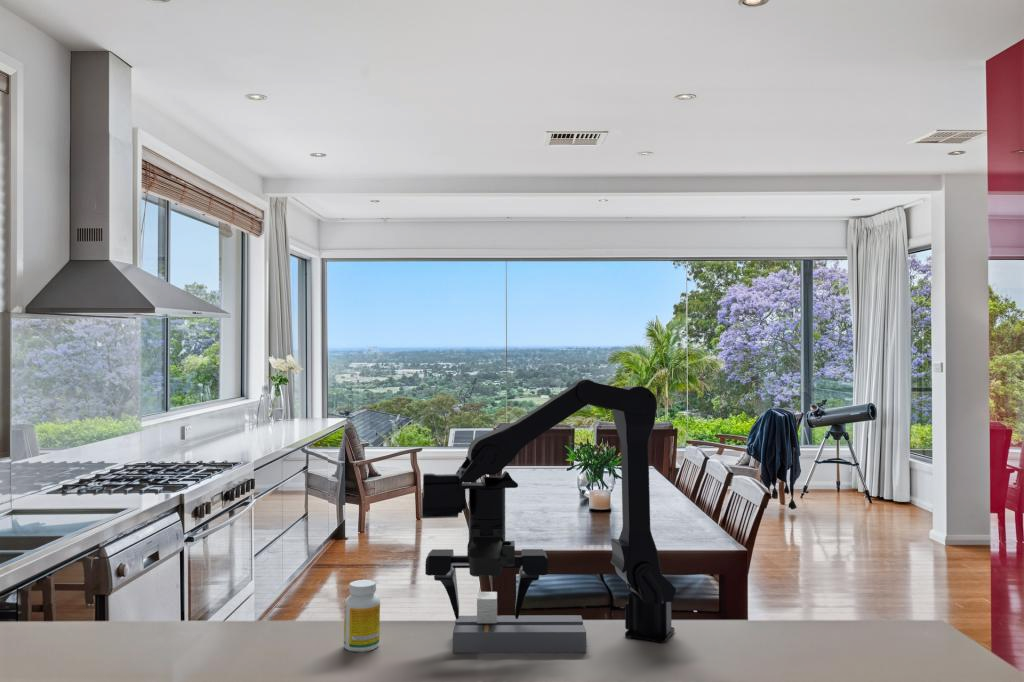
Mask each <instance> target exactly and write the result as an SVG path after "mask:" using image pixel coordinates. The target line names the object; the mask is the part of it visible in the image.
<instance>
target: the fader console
mask: <svg viewBox="0 0 1024 682" xmlns="http://www.w3.org/2000/svg"><path fill="white" fill-rule="evenodd" d="M454 624H455V625H453V626H454V627H453V629H452V653H453V654H455V653H456V654H457V653H459V654H461V653H463V654H464V653H466V654H479V653H480V654H482V653H483V654H485V653H487V654H489V653H490V654H492V653H494V654H495V653H496V654H497V653H498V654H502V653H503V654H504V653H506V654H507V653H509V654H510V653H513V654H515V653H519V654H520V653H521V654H522V653H534V654H535V653H540V654H541V653H548V654H549V653H556V654H557V653H560V654H561V653H587V631H586V627H585V625H584V620H583V617H582V615H577V614H574V615H573V614H569V615H567V614H566V615H563V614H562V615H560V614H557V615H555V614H553V615H551V614H550V615H548V614H547V615H544V614H543V615H534V614H533V615H532V614H531V615H526V614H525V615H520V614H519V617H518V619H515V615H497V623H492V625H482V623H477V615H459V619H456V618H455V622H454Z"/></svg>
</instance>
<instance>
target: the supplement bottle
mask: <svg viewBox="0 0 1024 682" xmlns="http://www.w3.org/2000/svg"><path fill="white" fill-rule="evenodd" d="M348 591H349V595H348V597H347V598H346V599H345V600H344V611H343V612H344V615H343V619H344V623H343V647H344V648H345V650H346V651H349V652H358V653H365V652H369V651H372V650H374V649H376V648H377V647H379V645H380V634H381V633H380V626H381V622H380V621H381V620H380V619H381V618H380V617H381V616H380V615H381V600H380V597H379V596H378V595H377V594H375V593H376V591H377V583H376V581H375V580H373V579H372V580H371V579H359V580H358V579H357V580H354V581H351V582H350V583H349V587H348Z"/></svg>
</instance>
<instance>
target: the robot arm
mask: <svg viewBox="0 0 1024 682" xmlns="http://www.w3.org/2000/svg"><path fill="white" fill-rule="evenodd" d="M657 400H658V399H657V397H656V394H654V393H653V392H652V390H650V389H649V388H647V387H645V386H641V385H626V386H621V387H617V386H614V385H608V384H604V383H599V382H594V381H593V380H591V379H578V380H575V381H573V383H572V384H570V385H569V386H568V387H567V388H565V389H564V390H562V391H560V392H559V393H558V394H556V395H554V396H552V397H551V398H550V399H548V400H547V401H545V402H543V403H542V404H540V405H539V406H538V407H536V408H534V409H533V410H530V412H528V413H527V414H525V415H523V416H522V417H521V418H519V419H517V420H515V421H514V422H511V423H509V424H507V425H503V426H501V427H498V428H494V429H493V430H490V431H488V432H485V433H483V434H481V435H479V436H476V437H475V438H474V439H473V440H472V441H470V443H469V445H468V447H467V448H468V449H467V457H466V459H465V460H464V461H463V463H462V464H461V465H460V466H459V467H458V469H457V471H456V472H455V473H454V474H453V473H449V474H446V473H445V474H436V473H424V474H422V492H421V496H420V497H421V498H420V499H421V500H420V501H421V506H420V507H421V508H420V509H421V519H449V518H451V519H453V518H458V517H459V515H460V514H463V512H465V511H466V502H467V501H466V500H467V499H466V498H467V496H466V495H467V494H466V490H468V543H467V553H466V555H455V554H454V549H453V548H451V549H445V548H444V549H431V550H430V551H429V552H428V554H427V556H426V559H425V563H424V564H425V568H424V569H425V570H424V571H425V575H426V576H433V580H434V581H436V582H437V581H439V582H440V583H441V584H442V585H443V587H444V589H445V592H446V593H447V595H448V598H449V601H450V605H451V607H452V611H453V613H454V614H453V615H454V617H455V620H456V619H459V616H460V600H459V592H458V581H457V569H469V575H470V576H471V577H474V578H475V577H480V576H491V577H496V578H497V577H499V576H501V575H502V574H503V569H519V570H518V571H519V572H518V580H517V588H516V589H517V590H516V597H515V610H514V612H515V613H514V614H515V615H514V616H515V619H518V617H519V615H520V613H521V610H522V606H523V603H524V599H525V597H526V594H527V592H528V591H529V588H530V586H531V584H532V583H533V581H539V580H540V576H546V575H549V574H548V573H549V567H548V564H549V561H548V560H549V559H548V555H547V552H546V551H545V550H544V549H543V548H540V549H539V548H537V549H536V548H532V549H530V548H529V549H528V548H526V549H525V548H522V549H521V555H517V554H516V553H515V552H516V550H515V549H516V546H515V544H516V543H515V540H506V489H516V488H518V487H519V484H518V482H517V481H515V479H513V478H512V476H511V475H510V473H509V472H508V471H506V470H505V471H503V473H502V474H501V475H500V476H494V475H496V474H498V473H499V472H501V471H502V470H503V469H505V468H506V467H507V466H508V465H509V464H510V463H511V462H512V461H513V460H514V459H515V458H516V457H517V456H518V455H519V454H520V453H521V451H522V450H523V449H524V448H525V447H527V445H529V443H531V442H532V441H534V440H535V439H537V438H539V437H540V436H541V435H543V434H545V433H547V432H548V431H550V430H551V429H552V428H554V427H556V426H557V425H559V424H560V423H562V422H563V421H565V420H566V419H568V418H569V417H571V416H572V415H574V414H576V413H577V412H579V411H580V410H581V409H583V408H584V407H586V406H592V407H597V408H601V409H604V410H608V411H611V412H612V417H613V423H614V426H615V428H616V431H617V435H618V437H619V440H620V458H621V459H620V461H621V463H620V465H621V470H620V471H621V508H622V509H621V510H622V513H621V514H622V529H621V532H620V535H619V538H613V537H612V538H610V545H611V551H612V555H611V559H610V563H611V564H612V565H613V566H614V571H615V572H616V574H617V575H618V576H619V577H620V578H621V579H622V580H623V581H624V582H625V584H626V587H627V589H628V590H630V591H631V592H630V593H628V595H627V598H628V599H627V602H626V603H625V604H624V615H625V616H624V618H625V619H624V623H625V625H624V627H625V629H626V630H627V631H626V632H625V633H624V636H625V637H626V638H634V639H639V640H645V641H650V642H651V641H652V642H658V643H666V641H668V640H669V638H670V637H671V636H672V635H673V633H674V632H675V627H672V602H673V601H674V598H675V596H676V592H677V588H676V587H675V586H674V585H673V584H672V583H671V582H670V581H669V580H668V579H667V578H666V577H665V576H664V575H663V574H662V568H661V562H660V556H659V551H658V549H657V545H656V543H655V540H654V537H653V535H652V529H651V505H650V504H651V499H650V498H651V497H650V494H651V493H650V460H649V459H650V456H649V452H650V451H649V442H650V438H651V436H652V433H653V429H654V428H655V423H656V416H657V410H658V409H657V408H658V402H657ZM485 475H487V476H485ZM492 475H493V476H492ZM479 479H481V482H480V481H479V482H477V481H478V480H479Z"/></svg>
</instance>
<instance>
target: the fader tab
mask: <svg viewBox="0 0 1024 682" xmlns="http://www.w3.org/2000/svg"><path fill="white" fill-rule="evenodd" d="M476 616H477V623H482V625H492V623H497V616H498V592H497V591H478V592H477V597H476Z"/></svg>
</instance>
